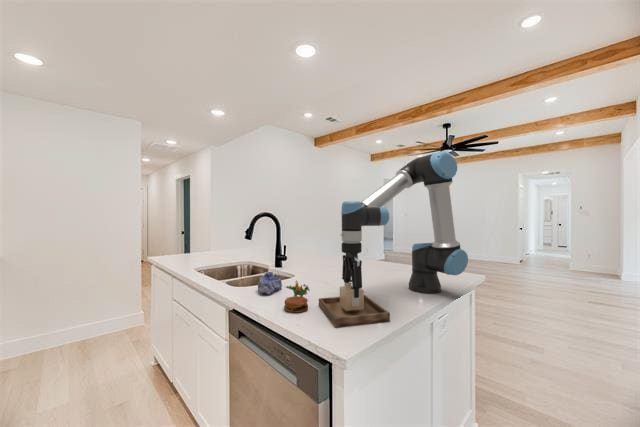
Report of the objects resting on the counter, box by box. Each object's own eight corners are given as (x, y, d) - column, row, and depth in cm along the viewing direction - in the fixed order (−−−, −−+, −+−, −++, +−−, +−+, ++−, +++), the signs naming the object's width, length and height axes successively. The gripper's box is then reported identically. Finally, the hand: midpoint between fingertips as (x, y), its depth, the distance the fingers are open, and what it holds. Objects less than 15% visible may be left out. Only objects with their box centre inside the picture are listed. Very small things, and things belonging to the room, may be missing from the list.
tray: (363, 301, 116) (363, 294, 116) (389, 321, 95) (389, 313, 95) (318, 305, 111) (318, 298, 111) (335, 327, 90) (335, 318, 90)
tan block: (356, 303, 107) (356, 285, 107) (363, 309, 100) (363, 290, 100) (339, 304, 105) (339, 286, 105) (345, 310, 98) (345, 291, 98)
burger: (281, 307, 110) (281, 295, 110) (302, 304, 113) (302, 293, 113) (288, 315, 101) (288, 303, 101) (311, 312, 104) (311, 300, 104)
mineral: (265, 269, 139) (282, 269, 135) (267, 287, 140) (284, 288, 136) (249, 279, 125) (268, 279, 122) (252, 299, 126) (271, 300, 123)
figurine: (308, 301, 116) (308, 282, 116) (283, 298, 120) (283, 280, 120) (311, 299, 119) (311, 280, 119) (286, 296, 123) (286, 278, 123)
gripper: (334, 239, 111) (334, 295, 111) (351, 245, 92) (351, 312, 92) (351, 239, 113) (351, 294, 113) (372, 244, 94) (372, 310, 94)
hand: (351, 302), depth 103 cm, fingers closed on tan block, 7 cm apart
